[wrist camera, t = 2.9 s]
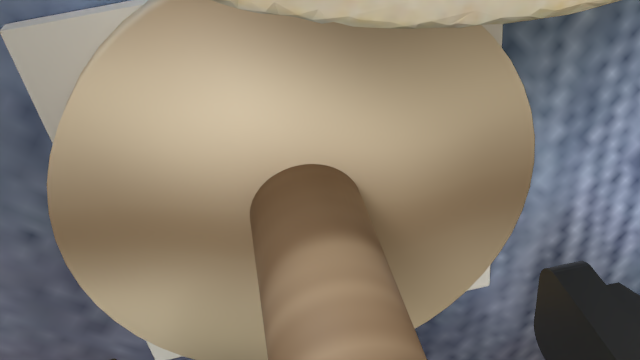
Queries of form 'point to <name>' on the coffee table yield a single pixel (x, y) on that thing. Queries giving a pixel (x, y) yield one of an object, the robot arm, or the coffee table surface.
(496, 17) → the flower pot
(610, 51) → the coffee table surface
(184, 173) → the lid
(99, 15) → the mat
